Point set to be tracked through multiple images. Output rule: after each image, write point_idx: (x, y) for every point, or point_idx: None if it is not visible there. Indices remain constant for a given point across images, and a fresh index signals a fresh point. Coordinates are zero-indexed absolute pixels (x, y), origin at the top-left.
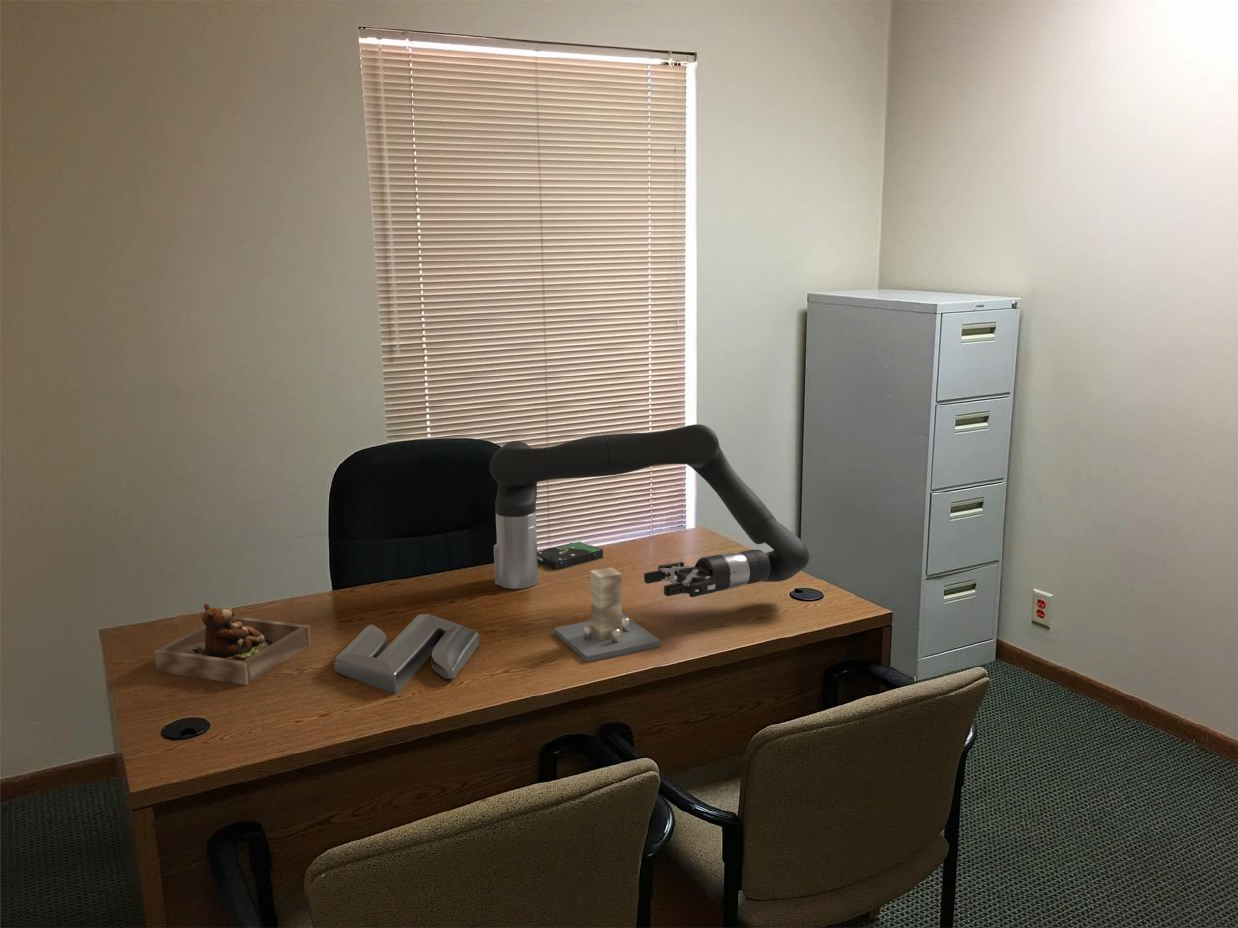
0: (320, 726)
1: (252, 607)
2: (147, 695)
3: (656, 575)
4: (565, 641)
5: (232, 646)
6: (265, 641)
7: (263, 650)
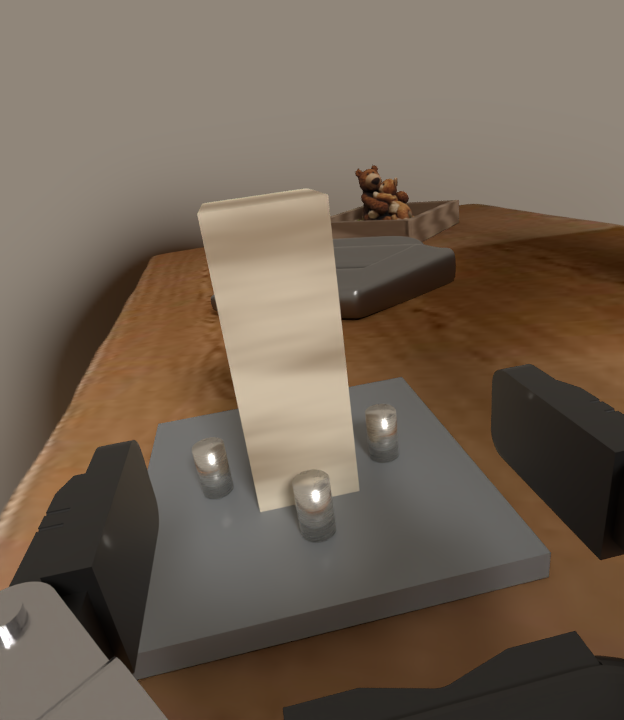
0: (181, 278)
1: (545, 215)
2: None
3: (560, 453)
4: None
5: (366, 215)
6: None
7: (342, 221)
